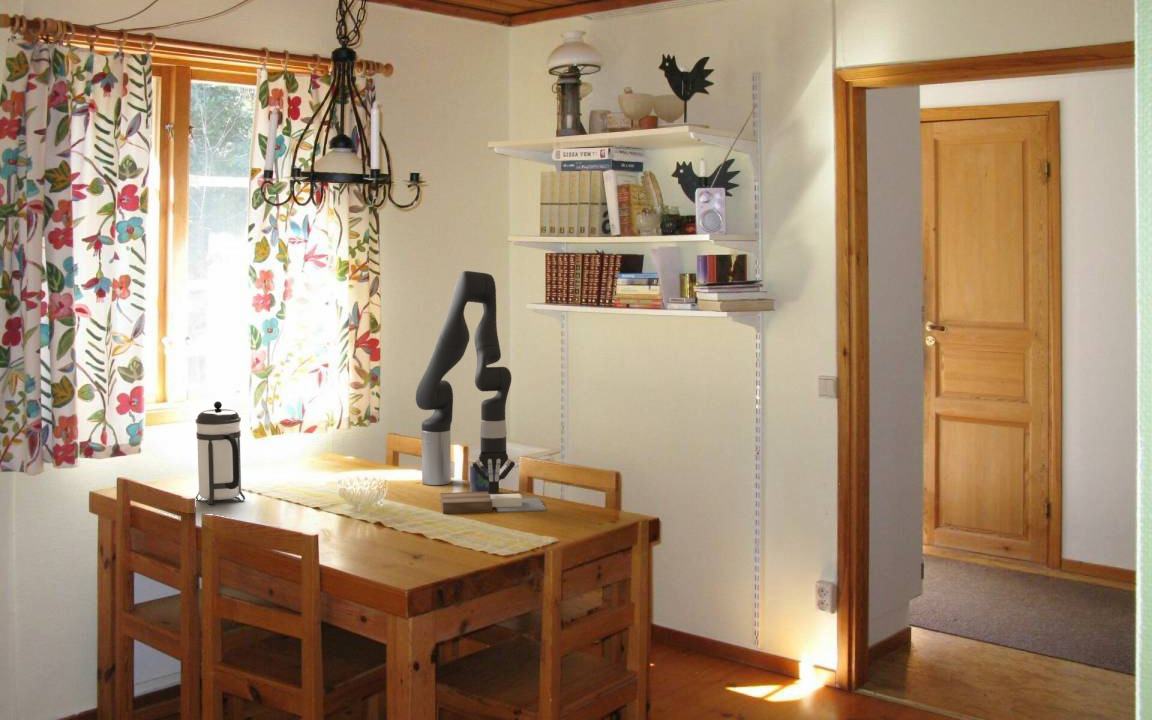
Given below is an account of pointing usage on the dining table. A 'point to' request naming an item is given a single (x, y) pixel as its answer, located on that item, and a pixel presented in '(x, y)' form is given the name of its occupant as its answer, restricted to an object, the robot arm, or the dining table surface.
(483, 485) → the flask
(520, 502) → the tile
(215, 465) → the coffee press
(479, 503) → the board
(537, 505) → the mat
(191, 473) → the dining table surface
